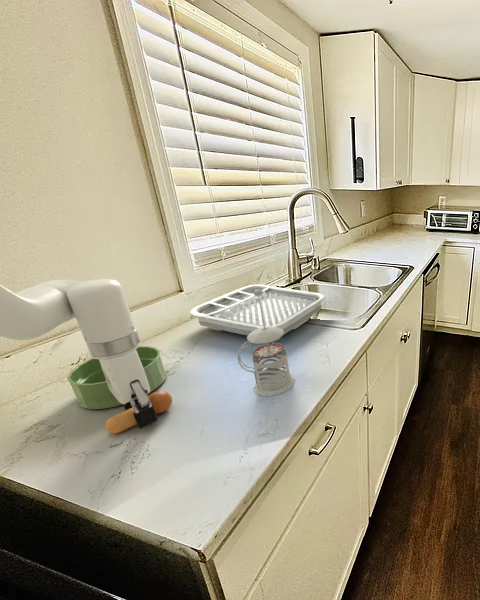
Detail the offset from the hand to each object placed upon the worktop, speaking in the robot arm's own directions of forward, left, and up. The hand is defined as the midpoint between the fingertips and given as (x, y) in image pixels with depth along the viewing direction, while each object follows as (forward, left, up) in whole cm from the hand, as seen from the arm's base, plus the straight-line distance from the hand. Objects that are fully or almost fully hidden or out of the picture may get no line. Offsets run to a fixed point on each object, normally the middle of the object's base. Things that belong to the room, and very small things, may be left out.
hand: (141, 416), depth 69 cm
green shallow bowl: (+1, +17, -1) cm, 17 cm away
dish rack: (+43, +24, -1) cm, 50 cm away
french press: (+23, -11, -1) cm, 26 cm away
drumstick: (0, 0, -1) cm, 1 cm away
